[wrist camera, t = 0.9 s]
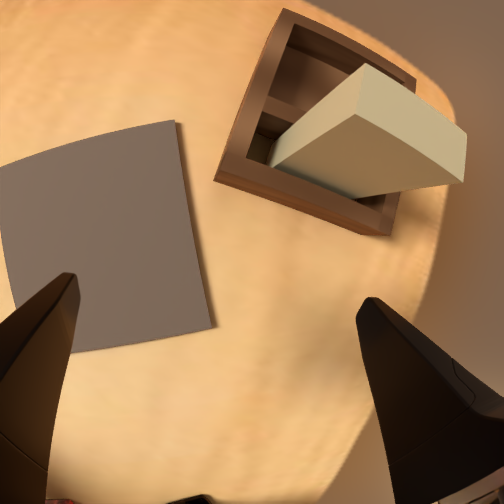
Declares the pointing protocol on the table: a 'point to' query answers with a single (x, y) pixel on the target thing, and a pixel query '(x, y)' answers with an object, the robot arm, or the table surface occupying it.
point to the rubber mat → (107, 234)
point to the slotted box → (296, 106)
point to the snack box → (59, 501)
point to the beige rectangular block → (371, 140)
